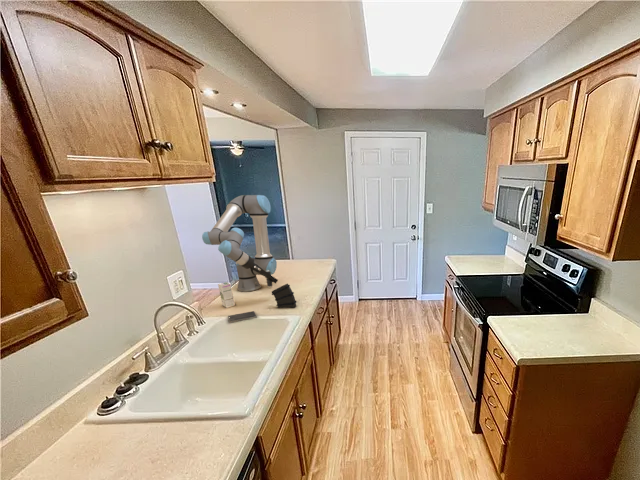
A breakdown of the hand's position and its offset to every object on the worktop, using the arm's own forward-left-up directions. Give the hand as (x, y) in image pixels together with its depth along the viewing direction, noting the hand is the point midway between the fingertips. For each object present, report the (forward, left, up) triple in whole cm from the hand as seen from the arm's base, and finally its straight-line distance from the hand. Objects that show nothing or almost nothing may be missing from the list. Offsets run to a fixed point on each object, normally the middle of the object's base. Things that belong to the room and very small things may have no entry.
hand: (275, 281), depth 212 cm
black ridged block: (+16, +1, -13) cm, 21 cm away
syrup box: (-5, -29, -13) cm, 32 cm away
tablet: (+20, -24, -13) cm, 34 cm away
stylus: (+1, -4, -3) cm, 5 cm away
